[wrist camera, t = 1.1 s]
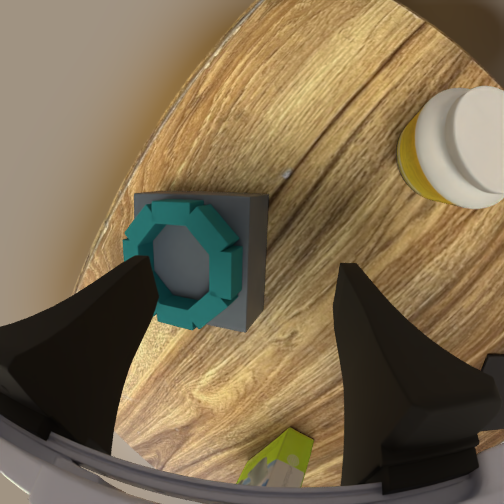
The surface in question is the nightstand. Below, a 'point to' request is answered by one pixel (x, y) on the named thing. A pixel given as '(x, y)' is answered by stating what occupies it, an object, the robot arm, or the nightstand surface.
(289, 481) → the box
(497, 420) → the mat
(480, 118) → the pill bottle
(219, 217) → the ring
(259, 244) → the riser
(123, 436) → the nightstand surface
